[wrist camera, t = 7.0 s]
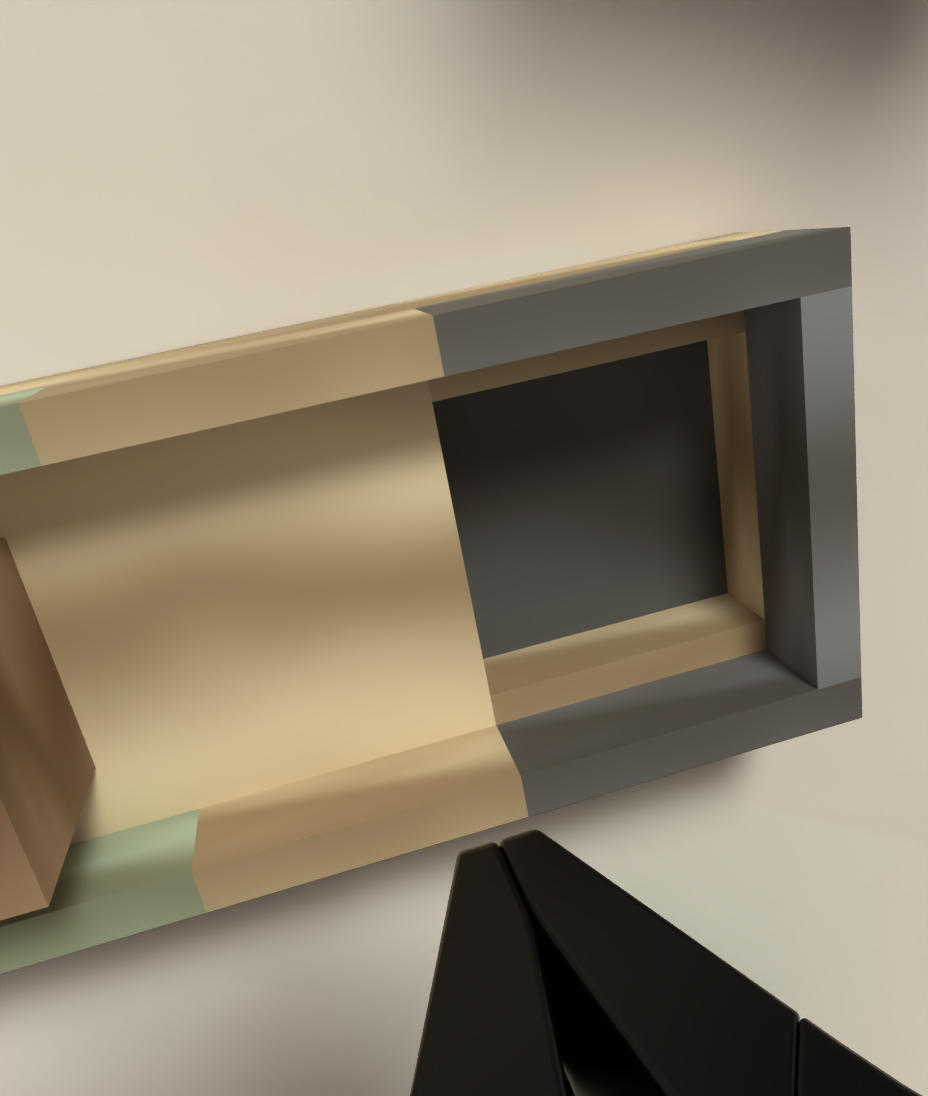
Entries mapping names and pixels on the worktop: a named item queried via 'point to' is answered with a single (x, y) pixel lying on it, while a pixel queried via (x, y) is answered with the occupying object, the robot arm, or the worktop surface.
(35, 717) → the walnut block
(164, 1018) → the worktop surface
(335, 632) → the box
